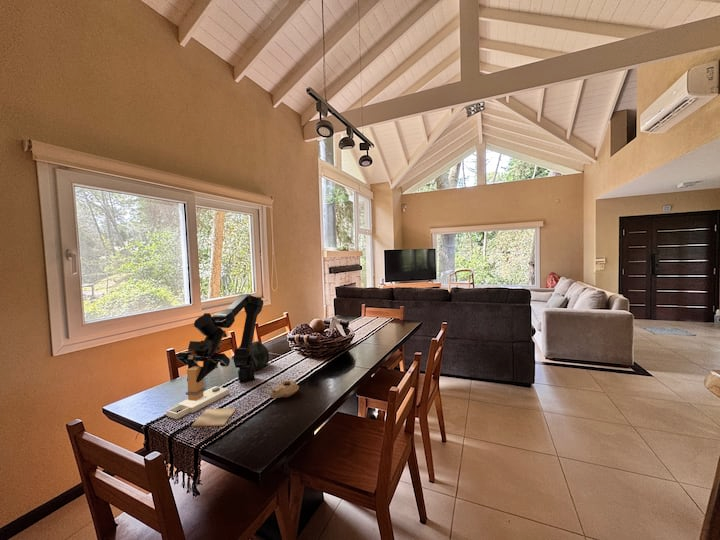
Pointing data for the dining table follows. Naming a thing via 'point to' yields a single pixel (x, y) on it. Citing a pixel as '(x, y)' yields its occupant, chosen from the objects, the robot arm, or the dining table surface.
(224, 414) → the cork mat
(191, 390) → the tan tall block
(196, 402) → the power strip
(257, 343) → the squash
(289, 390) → the pottery oil lamp
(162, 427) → the dining table surface
